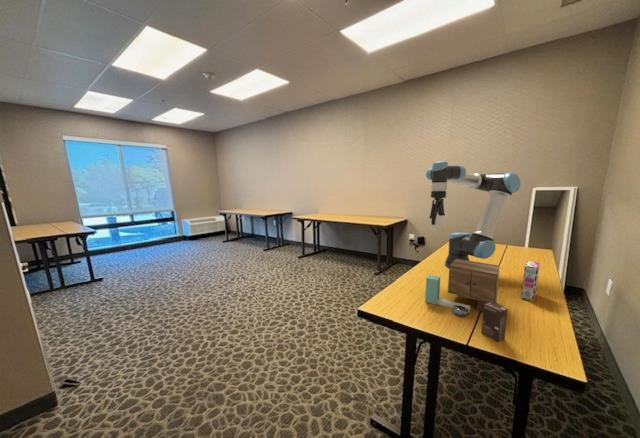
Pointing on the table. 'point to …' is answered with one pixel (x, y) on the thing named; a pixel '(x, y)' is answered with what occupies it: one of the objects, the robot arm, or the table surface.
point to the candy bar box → (530, 280)
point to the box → (494, 321)
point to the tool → (434, 291)
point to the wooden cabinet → (474, 281)
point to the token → (459, 311)
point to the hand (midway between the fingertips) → (436, 228)
